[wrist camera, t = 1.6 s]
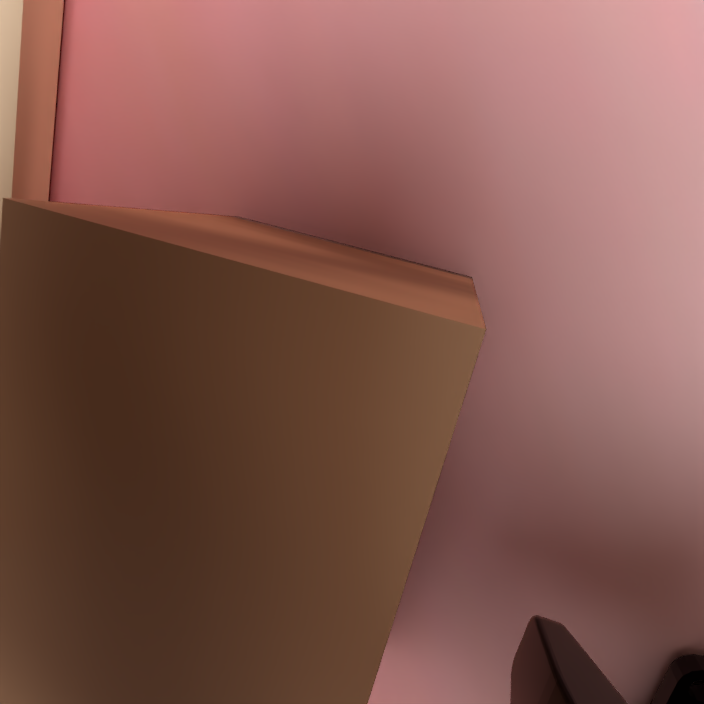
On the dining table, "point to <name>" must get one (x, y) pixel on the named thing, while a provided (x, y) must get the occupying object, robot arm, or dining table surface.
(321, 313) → the block
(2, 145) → the board
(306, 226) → the dining table surface
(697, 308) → the dining table surface
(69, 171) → the dining table surface
